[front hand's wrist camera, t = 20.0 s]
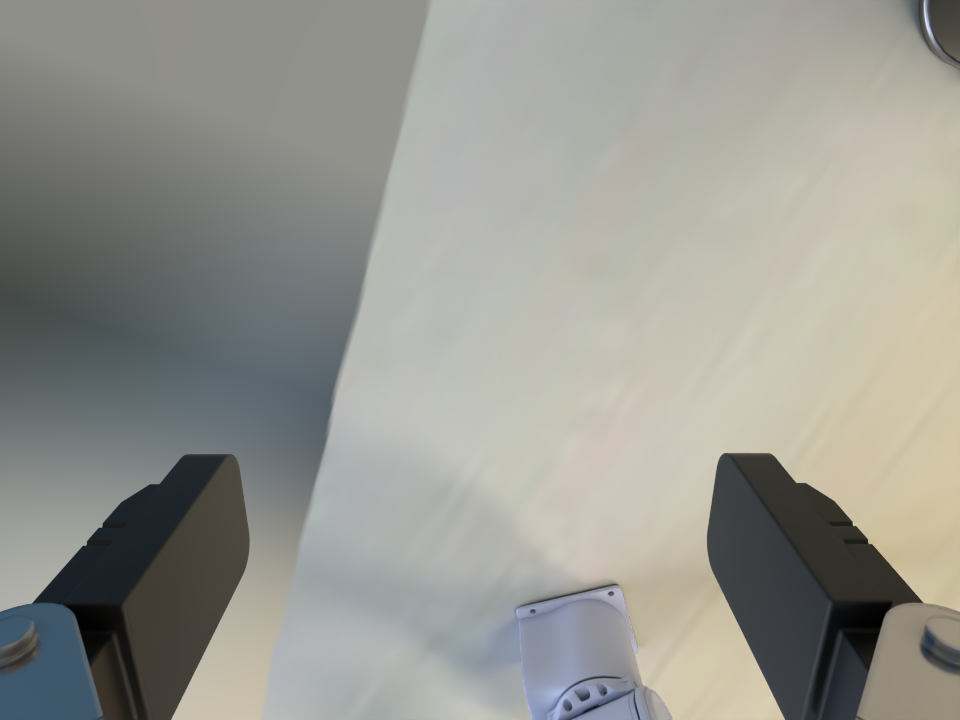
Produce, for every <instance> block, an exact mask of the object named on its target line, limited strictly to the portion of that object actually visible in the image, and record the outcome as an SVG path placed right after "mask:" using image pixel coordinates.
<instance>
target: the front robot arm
mask: <svg viewBox="0 0 960 720" xmlns="http://www.w3.org/2000/svg"><path fill="white" fill-rule="evenodd" d="M919 15H920V22H921V27H922V31H923V34H924V36H925V38H926V41H927V42H928V44H929V46H930V47H931V49H932V50H933V51H934V53H935V54H936V55H937V56H938V57H940V58H941V59H942V60H943V61H945V62H946V63H948V64H950V65H952V66H954V67H957V68H960V0H920V1H919ZM707 549H708V556H709V561H710V565H711V568H712V571H713V573H714V575H715V577H716V579H717V581H718V583H719V585H720V587H721V589H722V592H723V594H724V596H725V598H726V600H727V602H728V604H729V606H730V608H731V610H732V612H733V614H734V616H735V618H736V620H737V622H738V624H739V626H740V628H741V630H742V632H743V634H744V636H745V639H746V641H747V643H748V645H749V647H750V649H751V651H752V653H753V655H754V657H755V659H756V661H757V663H758V665H759V667H760V669H761V671H762V673H763V675H764V677H765V679H766V681H767V683H768V685H769V688H770V690H771V692H772V694H773V696H774V698H775V700H776V702H777V704H778V706H779V708H780V710H781V712H782V714H783V716H784V718H785V720H960V612H958V611H956V610H953V609H949V608H946V607H943V606H938V605H934V604H926V603H923V602H922V601H921V600H920V598H919V597H918V596H917V595H916V594H915V593H914V592H913V590H912V589H911V588H910V587H909V586H908V585H907V584H906V582H905V581H904V580H903V579H902V578H901V577H900V576H899V574H898V573H897V572H896V571H895V570H894V569H893V568H892V566H891V565H890V564H889V563H888V562H887V561H886V560H885V558H884V557H883V556H882V555H881V554H880V553H879V552H878V550H877V549H876V548H875V547H874V546H873V545H872V544H868V539H867V538H866V537H865V536H864V534H863V533H862V532H861V531H860V530H859V529H858V528H857V526H853V522H852V521H851V520H850V518H849V517H848V516H847V515H846V514H845V513H844V512H843V510H842V509H841V508H840V507H839V506H838V505H837V504H836V502H835V501H833V500H832V499H830V498H829V497H827V496H825V495H824V494H822V493H821V492H819V491H818V490H816V489H814V488H813V487H811V486H810V485H808V484H806V483H796V482H795V481H794V480H793V479H792V477H791V476H790V475H789V474H788V472H787V471H786V470H785V469H784V468H783V466H782V465H781V464H780V463H779V461H778V460H777V459H776V458H775V457H774V456H773V455H772V454H770V453H724V454H723V455H721V457H720V459H719V461H718V465H717V470H716V477H715V484H714V491H713V498H712V504H711V511H710V518H709V525H708V532H707ZM248 555H249V529H248V523H247V516H246V509H245V502H244V496H243V489H242V482H241V476H240V469H239V465H238V461H237V459H236V458H235V456H234V455H231V454H187V455H184V456H183V457H182V458H181V459H180V460H179V461H178V463H177V464H176V465H175V466H174V467H173V469H172V470H171V471H170V472H169V474H168V475H167V476H166V477H165V478H164V479H163V481H162V482H161V483H160V484H150V485H148V486H147V487H145V488H143V489H142V490H140V491H139V492H137V493H136V494H134V495H132V496H131V497H129V498H128V499H126V500H124V501H123V502H121V503H120V505H119V506H118V507H117V508H116V509H115V510H114V511H113V512H112V514H111V515H110V516H109V517H108V518H107V519H106V520H105V522H104V523H103V527H102V528H98V529H97V531H96V532H95V533H94V534H93V535H92V536H91V537H90V538H89V540H88V541H87V545H86V546H82V548H81V549H80V550H79V551H78V552H77V553H76V554H75V555H74V557H73V558H72V559H71V560H70V561H69V562H68V563H67V565H66V566H65V567H64V568H63V569H62V570H61V571H60V572H59V574H58V575H57V576H56V577H55V578H54V579H53V580H52V581H51V583H50V584H49V585H48V586H47V587H46V588H45V589H44V591H43V592H42V593H41V594H40V595H39V596H38V597H37V598H36V600H35V601H34V602H33V603H32V604H26V605H22V606H17V607H14V608H11V609H8V610H4V611H2V612H0V720H171V719H172V717H173V715H174V713H175V711H176V709H177V707H178V704H179V703H180V700H181V699H182V696H183V694H184V692H185V690H186V688H187V686H188V684H189V682H190V680H191V678H192V676H193V674H194V672H195V670H196V668H197V666H198V664H199V662H200V660H201V658H202V656H203V654H204V652H205V650H206V648H207V646H208V644H209V642H210V640H211V638H212V636H213V634H214V632H215V630H216V628H217V626H218V624H219V622H220V620H221V618H222V616H223V614H224V612H225V610H226V608H227V606H228V604H229V602H230V600H231V598H232V596H233V594H234V591H235V589H236V588H237V586H238V583H239V581H240V579H241V577H242V575H243V573H244V571H245V568H246V565H247V560H248Z"/></svg>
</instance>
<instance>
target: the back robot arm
mask: <svg viewBox="0 0 960 720" xmlns="http://www.w3.org/2000/svg"><path fill="white" fill-rule="evenodd" d="M610 591H612V593H608V592H610ZM532 609H535V610H534V611H532ZM516 613H517V617H518V620H519V635H520V650H521V665H522V676H523V683H524V689H525V694H526V699H527V704H528V708H529V711H530V715H531V718H532V720H673V718H672V716H671V714H670V712H669V711H668V709H667V707H666V705H665V704H664V702H663V701H662V699H661V698H660V696H659V695H658V694H657V693H656V692H655V691H653V690H651V689H649V688H648V687H646V686H643V684H642V680H641V677H640V673H639V669H638V665H637V662H636V658H635V654H637V653H638V647H637V643H636V640H635V636H634V632H633V629H632V625H631V622H630V618H629V614H628V611H627V607H626V603H625V600H624V596H623V592H622V589H621V587H620V586H618V585H614V586H609V587H605V588H601V589H596V590H592V591H588V592H583V593H579V594H575V595H570V596H566V597H561V598H557V599H553V600H548V601H544V602H540V603H535V604H531V605H527V606H522V607H519V608H518V609H517V610H516Z"/></svg>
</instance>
